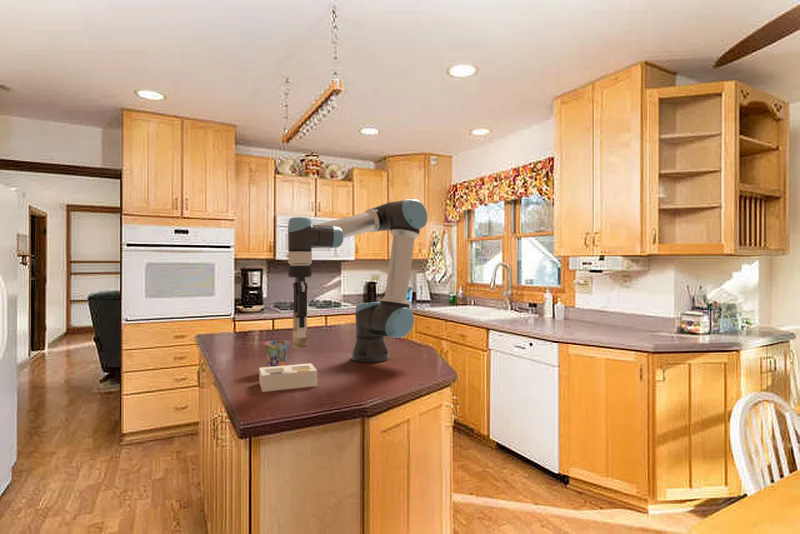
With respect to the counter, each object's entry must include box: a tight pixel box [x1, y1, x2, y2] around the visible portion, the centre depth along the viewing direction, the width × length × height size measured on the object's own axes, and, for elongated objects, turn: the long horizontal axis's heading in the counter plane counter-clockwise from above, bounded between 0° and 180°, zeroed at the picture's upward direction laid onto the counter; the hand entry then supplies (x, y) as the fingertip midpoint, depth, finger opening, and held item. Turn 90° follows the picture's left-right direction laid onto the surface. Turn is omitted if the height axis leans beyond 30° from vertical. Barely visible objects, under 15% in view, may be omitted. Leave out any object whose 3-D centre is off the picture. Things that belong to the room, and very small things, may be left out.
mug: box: [262, 340, 290, 367], centre depth 167 cm, size 12×9×11 cm
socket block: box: [258, 363, 318, 393], centre depth 149 cm, size 17×11×5 cm, turn 111°
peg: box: [292, 312, 308, 349], centre depth 150 cm, size 4×4×11 cm
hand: (300, 336), depth 150 cm, fingers closed on peg, 4 cm apart
